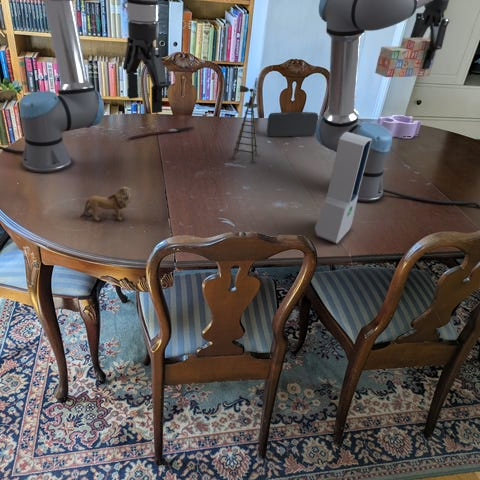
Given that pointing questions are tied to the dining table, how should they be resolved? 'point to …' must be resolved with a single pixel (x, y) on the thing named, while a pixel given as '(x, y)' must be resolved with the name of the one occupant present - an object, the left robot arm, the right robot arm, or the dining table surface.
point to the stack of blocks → (404, 59)
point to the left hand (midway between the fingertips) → (144, 104)
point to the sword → (162, 132)
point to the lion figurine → (109, 203)
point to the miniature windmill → (250, 106)
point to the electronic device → (343, 187)
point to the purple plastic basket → (400, 125)
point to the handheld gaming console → (292, 124)
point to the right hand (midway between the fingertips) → (418, 66)
